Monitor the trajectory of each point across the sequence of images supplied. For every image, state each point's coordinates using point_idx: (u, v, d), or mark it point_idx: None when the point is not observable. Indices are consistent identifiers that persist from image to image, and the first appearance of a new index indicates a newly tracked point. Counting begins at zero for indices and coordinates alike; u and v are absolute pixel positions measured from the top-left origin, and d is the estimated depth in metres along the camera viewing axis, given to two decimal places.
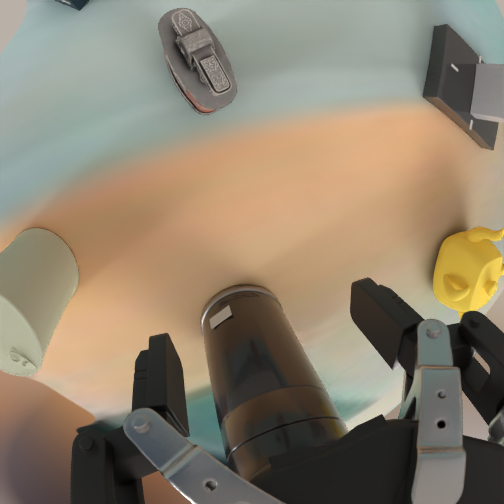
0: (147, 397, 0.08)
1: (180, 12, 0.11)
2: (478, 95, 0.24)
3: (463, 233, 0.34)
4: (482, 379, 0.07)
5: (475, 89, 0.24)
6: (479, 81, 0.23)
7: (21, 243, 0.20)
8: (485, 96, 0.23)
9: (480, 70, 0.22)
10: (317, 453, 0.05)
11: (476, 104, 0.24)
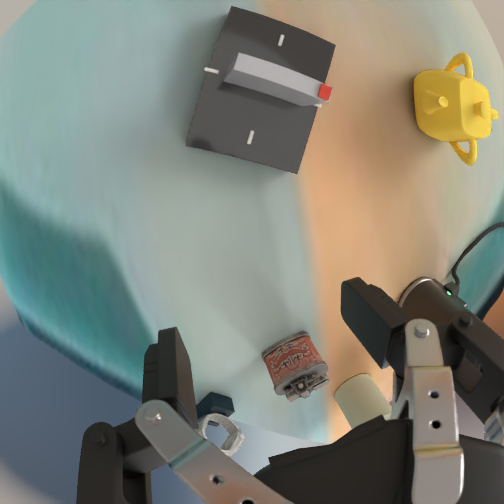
0: (158, 389, 0.08)
1: (289, 400, 0.35)
2: (279, 96, 0.25)
3: (419, 106, 0.29)
4: (474, 378, 0.07)
5: (268, 94, 0.25)
6: (256, 89, 0.24)
7: (343, 404, 0.49)
8: (284, 95, 0.24)
9: (237, 83, 0.24)
10: (317, 453, 0.05)
11: (292, 101, 0.26)
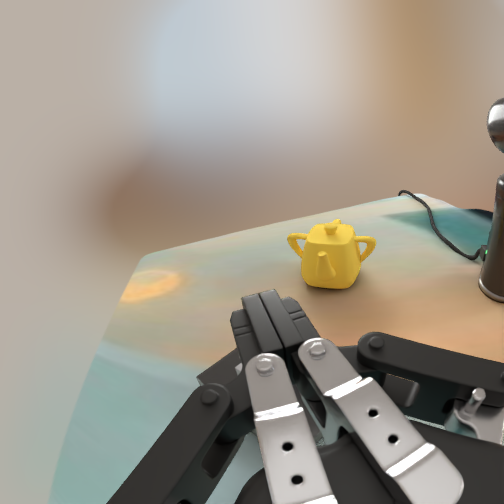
0: (260, 345, 0.09)
1: None
2: None
3: (329, 282, 0.47)
4: (405, 389, 0.08)
5: None
6: None
7: None
8: None
9: None
10: None
11: None
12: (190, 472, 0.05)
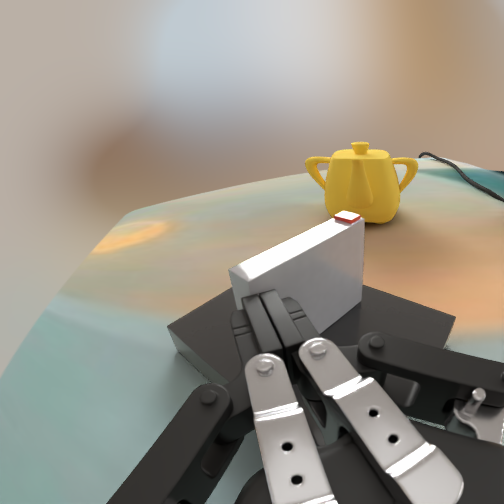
0: (260, 345, 0.09)
1: None
2: (335, 309, 0.17)
3: (365, 212, 0.33)
4: (406, 389, 0.08)
5: (325, 326, 0.17)
6: None
7: None
8: (336, 292, 0.16)
9: None
10: None
11: (349, 299, 0.18)
12: (190, 472, 0.05)
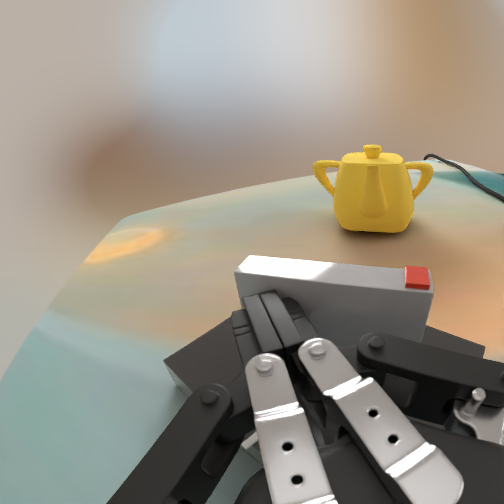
0: (260, 345, 0.09)
1: None
2: None
3: (378, 221, 0.30)
4: (405, 389, 0.08)
5: None
6: None
7: None
8: None
9: None
10: None
11: None
12: (190, 472, 0.05)
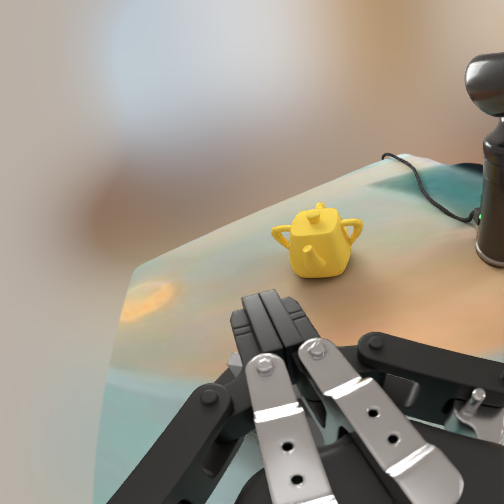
0: (261, 345, 0.09)
1: None
2: None
3: (321, 272, 0.46)
4: (405, 389, 0.08)
5: None
6: None
7: None
8: None
9: None
10: None
11: (299, 395, 0.28)
12: (190, 472, 0.05)
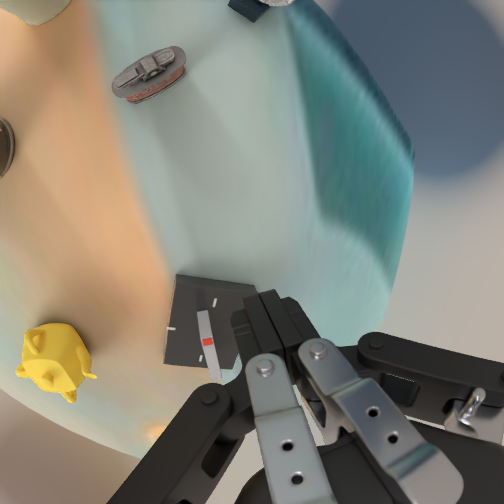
0: (261, 345, 0.09)
1: (171, 53, 0.21)
2: None
3: (82, 344, 0.39)
4: (405, 389, 0.08)
5: None
6: None
7: None
8: None
9: None
10: None
11: None
12: (190, 472, 0.05)
